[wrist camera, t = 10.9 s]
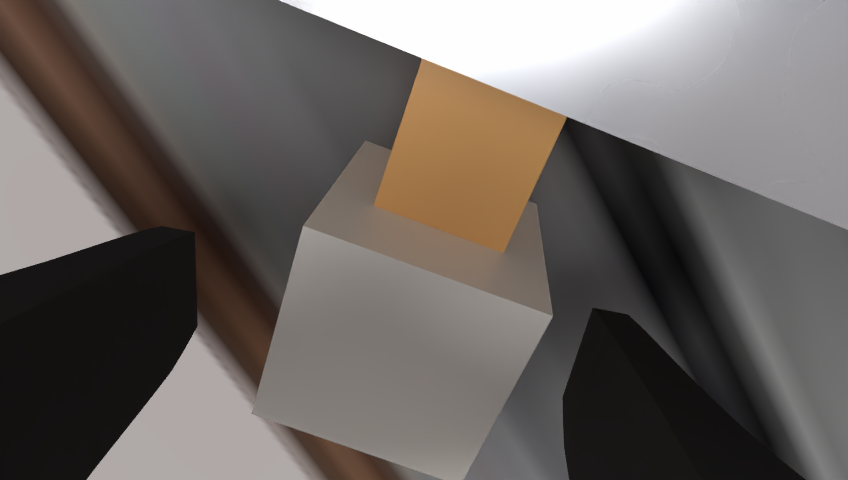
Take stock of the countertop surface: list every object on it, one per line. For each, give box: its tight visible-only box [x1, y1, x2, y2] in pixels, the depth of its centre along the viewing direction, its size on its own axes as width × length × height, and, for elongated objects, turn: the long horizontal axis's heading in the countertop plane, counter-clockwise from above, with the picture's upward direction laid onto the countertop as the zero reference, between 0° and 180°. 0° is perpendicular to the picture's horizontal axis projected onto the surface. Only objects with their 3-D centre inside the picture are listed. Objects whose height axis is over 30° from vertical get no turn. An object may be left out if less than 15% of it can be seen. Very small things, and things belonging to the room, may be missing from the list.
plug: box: [252, 58, 567, 480], centre depth 9 cm, size 4×17×4 cm, turn 161°
